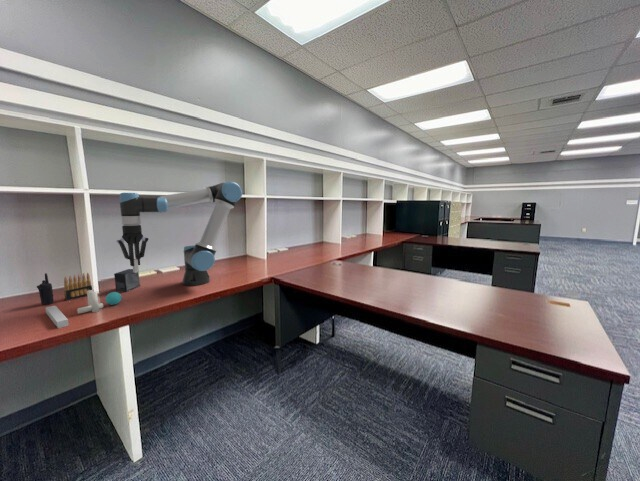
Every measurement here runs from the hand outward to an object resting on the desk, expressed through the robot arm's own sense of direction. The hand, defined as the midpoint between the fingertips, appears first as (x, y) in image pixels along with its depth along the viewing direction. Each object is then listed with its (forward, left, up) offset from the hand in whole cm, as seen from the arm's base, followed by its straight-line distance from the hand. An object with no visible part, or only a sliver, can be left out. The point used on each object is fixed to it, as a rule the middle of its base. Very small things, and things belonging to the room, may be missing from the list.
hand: (136, 272), depth 130 cm
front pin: (+14, 0, -13) cm, 19 cm away
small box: (-3, -23, -14) cm, 27 cm away
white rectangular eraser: (+30, 0, -14) cm, 33 cm away
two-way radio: (+29, -27, -14) cm, 42 cm away
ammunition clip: (+17, -27, -14) cm, 35 cm away
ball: (+10, -1, -11) cm, 15 cm away
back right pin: (+18, -3, -14) cm, 22 cm away
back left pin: (+18, +2, -14) cm, 22 cm away
